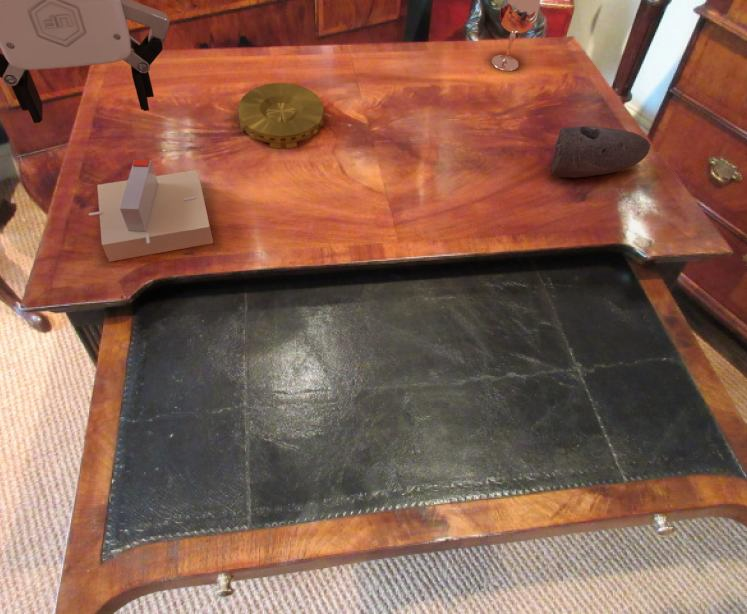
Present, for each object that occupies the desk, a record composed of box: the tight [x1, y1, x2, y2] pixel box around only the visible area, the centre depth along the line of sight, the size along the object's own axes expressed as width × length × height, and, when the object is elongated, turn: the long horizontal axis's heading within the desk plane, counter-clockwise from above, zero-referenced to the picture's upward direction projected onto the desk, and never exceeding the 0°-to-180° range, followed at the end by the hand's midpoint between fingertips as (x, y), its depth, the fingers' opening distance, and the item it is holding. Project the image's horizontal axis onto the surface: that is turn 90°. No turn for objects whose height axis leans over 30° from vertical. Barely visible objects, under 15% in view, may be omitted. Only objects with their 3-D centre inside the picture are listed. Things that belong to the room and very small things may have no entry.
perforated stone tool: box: [551, 125, 651, 179], centre depth 83 cm, size 15×5×7 cm, turn 98°
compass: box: [237, 82, 325, 149], centre depth 86 cm, size 12×12×2 cm
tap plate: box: [88, 169, 214, 262], centre depth 73 cm, size 13×12×3 cm
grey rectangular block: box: [120, 158, 158, 231], centre depth 70 cm, size 8×2×4 cm, turn 2°
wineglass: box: [491, 0, 541, 72], centre depth 95 cm, size 6×6×12 cm
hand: (92, 108), depth 58 cm, fingers open, 9 cm apart
